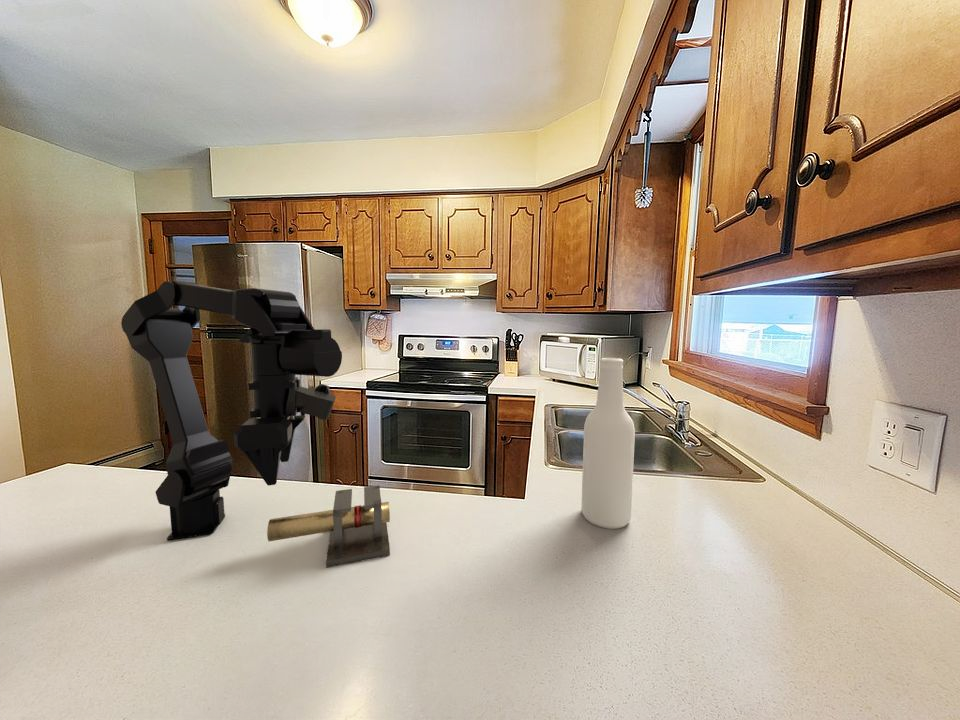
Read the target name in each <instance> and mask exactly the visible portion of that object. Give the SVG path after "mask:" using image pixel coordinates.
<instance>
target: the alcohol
mask: <svg viewBox="0 0 960 720" xmlns="http://www.w3.org/2000/svg"><path fill="white" fill-rule="evenodd" d="M599 362H600V365H599V369H600V370H599V380H598V387H597V395H596V403H595V406H594V408H593V409H592V410H591V411H590V412H589V413H588V415H587V416H586V418H585V421H584V425H583V448H582V450H583V452H582V454H583V455H582V477H581V478H582V481H581V508H580V509H581V513H582V515H583V517H584V518H585V519H586V521H588V522H589V523H590V524H592V525H593V526H596V527H600V528H601V529H602V528H603V529H608V530H609V529H610V530H617V529H622V528H624V527H626V526H627V525H628V523H629V522H630V521H631V519H632V506H633V505H632V501H633V482H634V480H633V479H634V462H635V461H634V459H635V441H636V440H635V439H636V435H635V434H636V429H635V425H634V420H633V419H632V417H631V415H629V413H628V412H627V410H626V408H625V405H624V402H625V401H624V400H625V399H624V380H623V377H624V376H623V375H624V374H623V369H624V366H623V365H624V360H623V359H622V358H619V357H618V358H617V357H602V358H601V359H599Z"/></svg>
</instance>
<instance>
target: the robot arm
mask: <svg viewBox="0 0 960 720" xmlns="http://www.w3.org/2000/svg"><path fill="white" fill-rule="evenodd" d="M296 297H297V296H296V295H295V294H294V293H292V292H290V291H284V290H273V289H265V288H257V287H256V288H255V287H250V288H248V287H247V288H237V289H235V290H232V289H227V288H219V287H213V286H210V285H209V286H208V285H202V284H199V283H198V282H191V281H182V280H174V279H172V280H167V281H163V282H162V283H161V284H160V285H159V287H158V288H157V289H156V290H155V291H153V292H150V293H148V294H146V295H144V296H142V297H140V298H138V299H136V300H134V301H133V303H132V304H131V305H130V307H129V308H128V309H127V310H126V312H125V313H124V314H123V316H122V318H121V324H120V325H121V329H122V332H124V334H125V335H126V338H127V340H128V342H129V345H130V347H131V348H132V349H133V351H135V352H136V353H137V354H139V355H140V356H141V357H142V358H144V359H145V360H146V361H148V363H149V365H150V369H151V373H152V375H153V379H154V382H155V383H154V384H155V386H156V389H157V393H158V396H159V399H160V402H161V407H162V410H163V413H164V416H165V419H166V423H167V427H168V430H169V434H170V437H171V440H172V446H171V449H170V452H169V454H168V456H167V459H166V461H165V466H166V472H167V473H166V474H167V476H166V477H165V479H164V480H163V481H162V482H161V484H159V487H157V489H156V490H155V492H154V493H155V496H156V499H157V502H158V504H159V505H163V506H167V507H169V517H170V527H171V533H170V534H168V536H167V537H166V541H167V542H170V541H176V540H184V539H190V538H191V539H192V538H198V537H204V536H210V535H212V534H214V533H215V531H216V530H217V528H218V527H219V525H220V524H222V522H223V520H224V519H225V517H226V513H225V505H224V504H225V501H224V497H223V496H221V495H220V494H221V493H220V490H221V489H223V488H227V487H228V486H229V483H230V480H231V479H230V478H231V475H232V472H233V461H234V459H233V457H232V455H231V453H230V449H229V445H228V442H227V441H226V440H225V439H221V440H218V439H217V438H216V437H214V436H213V435H212V434H210V430H209V428H208V424H207V421H206V418H205V415H204V411H203V407H202V403H201V400H200V397H199V394H198V389H197V387H196V383H195V380H194V377H193V374H192V370H191V367H190V363H189V360H188V356H187V354H188V352H189V349H190V347H191V345H192V342H193V341H194V337H193V329H194V328H195V327H196V326H197V324H198V323H199V322H200V321H201V316H200V310H203V311H207V312H212V313H218V314H223V315H228V316H229V317H232V318H233V320H234V321H235V322H236V323H239V324H241V325H243V326H245V327H248V328H249V329H248V330H247V332H246V333H245V334H242V336H240V338H239V343H241V344H250V358H251V359H250V361H251V378H252V379H251V381H249V382H248V386H247V387H248V391H252V395H253V408H252V409H250V411H249V419H247V420H246V421H245V422H244V423H242V424H241V425H240V426H238V428H237V429H236V430H235V431H234V432H233V445H234V448H237V449H239V451H241V452H243V453H244V455H245V456H246V457H247V459H248V460H249V461H250V462H251V464H252V465H253V467H254V468H255V470H256V471H257V473H259V475H260V477H261V478H262V479H263V481H264V482H265V484H266V485H267V486H275V485H277V481H278V476H279V469H280V462H281V463H286V462H289V460H290V456H291V450H292V448H293V447H292V445H293V441H294V437H295V432H296V428H298V426H299V425H300V424H301V423H302V422H303V421H304V419H305V418H306V415H309V416H312V417H313V416H314V417H316V418H317V419H319V420H323V421H324V420H325V421H328V420H329V418H330V415H331V412H332V410H333V407H334V404H335V402H336V399H337V397H336V396H335V394H334V393H331V390H330V386H329V385H327V384H323V383H319V384H318V385H317V386H316V387H315V388H314V389H313V388H312V387H309V388H308V387H304V386H302V385H301V379H299V377H298V376H307V377H325V378H327V377H328V378H329V377H332V376H334V375H335V374H336V373H337V372H338V371H339V370H340V368H341V365H342V361H343V360H342V359H343V352H342V351H341V348H340V345H339V344H338V342H337V341H336V340H335V339H334V338H333V337H332V330H331V329H327V328H326V329H320V328H319V329H315V328H314V326H313V324H312V323H311V321H310V320H309V318H308V317H307V315H306V314H305V312H304V311H303V309H302V307H301V306H300V304H299V301H298V299H297V298H296ZM175 306H177V307H178V306H179V307H184V308H183V309H182V310H181V309H179V308H172V307H175ZM297 413H300V415H297Z"/></svg>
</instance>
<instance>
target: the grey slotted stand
mask: <svg viewBox="0 0 960 720" xmlns="http://www.w3.org/2000/svg"><path fill="white" fill-rule="evenodd" d="M363 497H364V498H363V503H364V504H363V505H364V509H370V508H374V524H373V525H367V526H362V527H359V528H348V529H343V527H342V513H344V512H350V511H351V507H352V501H353V500H352V499H353V488H350V489H349V488H346V489H341V490H336V491H335V495H334V502H333V508H332V510H333V524H334V531H330V533H329V539H328V545H327V546H328V547H327V551H326V559H325V568H327V569H328V568H330V567H337V566H343V565H347V564H353V563H359V562H363V561H362V560H364V561H367V560H368V559H369V560H373V558H374V559H378V558H377V557H379V558H384V557H389V556H391V550H390V549H391V547H390V540H389V531H388V522H385V523H382V507H381V503H382V497H381V487H380V484H378V485H372V486H365V487H363ZM383 556H384V557H383Z"/></svg>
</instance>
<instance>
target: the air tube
mask: <svg viewBox="0 0 960 720" xmlns="http://www.w3.org/2000/svg"><path fill="white" fill-rule="evenodd" d="M381 507H382V523H385V522H386V523H390V519H391V517H390V516H391V515H390V513H391V512H390V502H389V501H384V502H381ZM373 524H374V508H370V509H364V504H363V505H362V504H359V505H354V506H351V511H350V512H344V513H342V527H343V529H348V528H359V527H362V526H367V525H373ZM330 531H334V524H333V509H329V510H323V511H316V512H309V513H301V514H296V515H295V514H294V515H289V516H281V517H275V518H269V521H268V524H267V533H266V534H267V535H266V537H267V541H268V542H274V541H281V540H286V539H292V538H298V537H299V538H300V537H306V536H311V535H318V534H322V533H323V534H324V533H329V532H330Z"/></svg>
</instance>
